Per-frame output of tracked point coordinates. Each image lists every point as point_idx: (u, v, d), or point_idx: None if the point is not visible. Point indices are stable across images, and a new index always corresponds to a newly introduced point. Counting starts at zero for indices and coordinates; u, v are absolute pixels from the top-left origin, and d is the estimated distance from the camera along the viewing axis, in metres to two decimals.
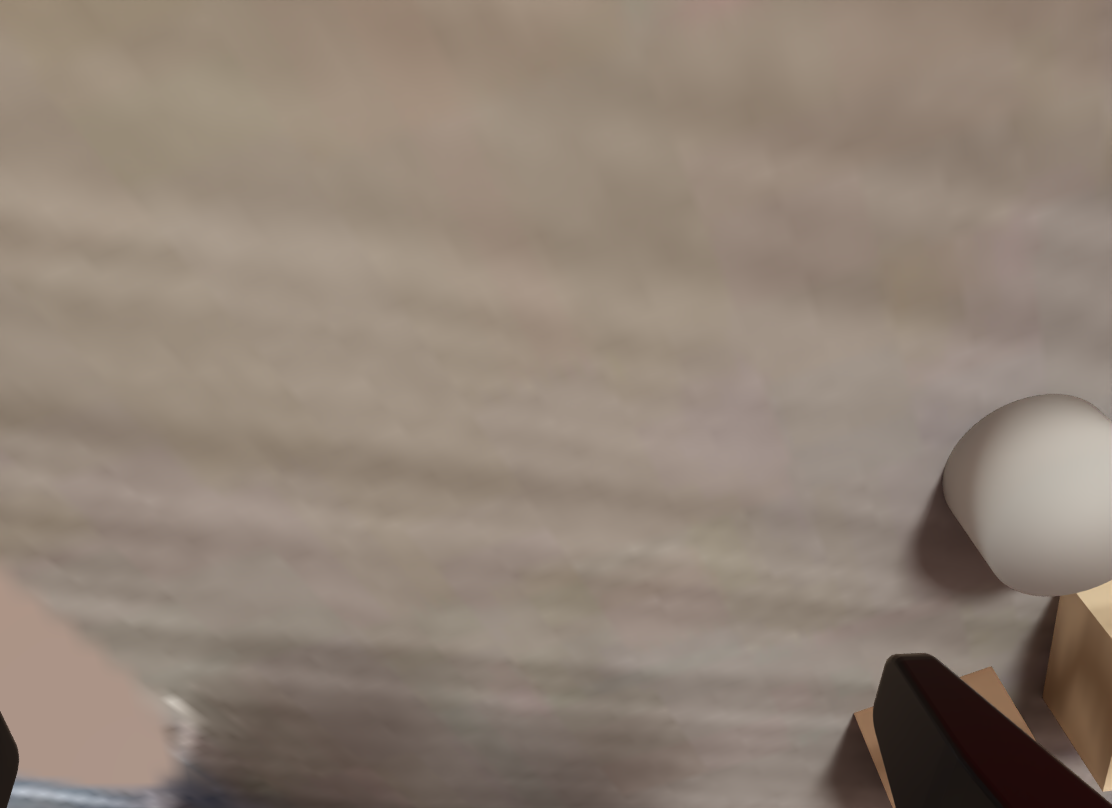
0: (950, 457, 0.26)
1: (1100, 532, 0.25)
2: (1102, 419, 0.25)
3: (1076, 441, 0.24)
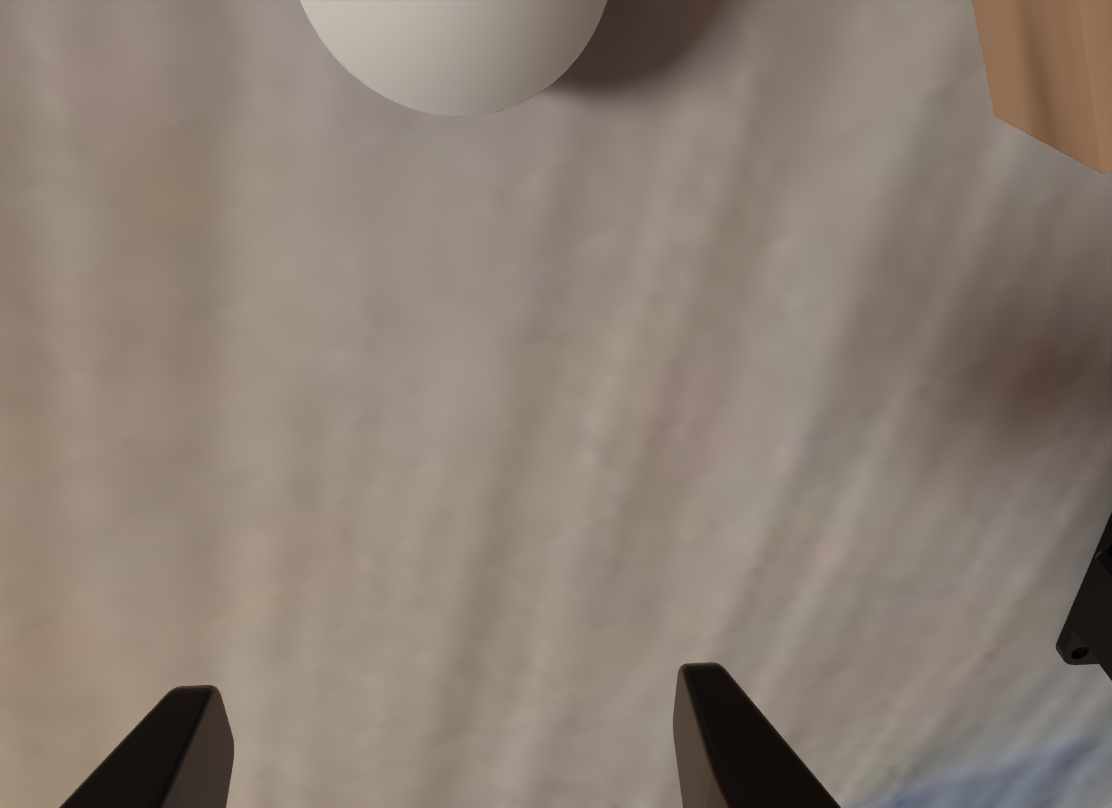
0: None
1: None
2: None
3: None
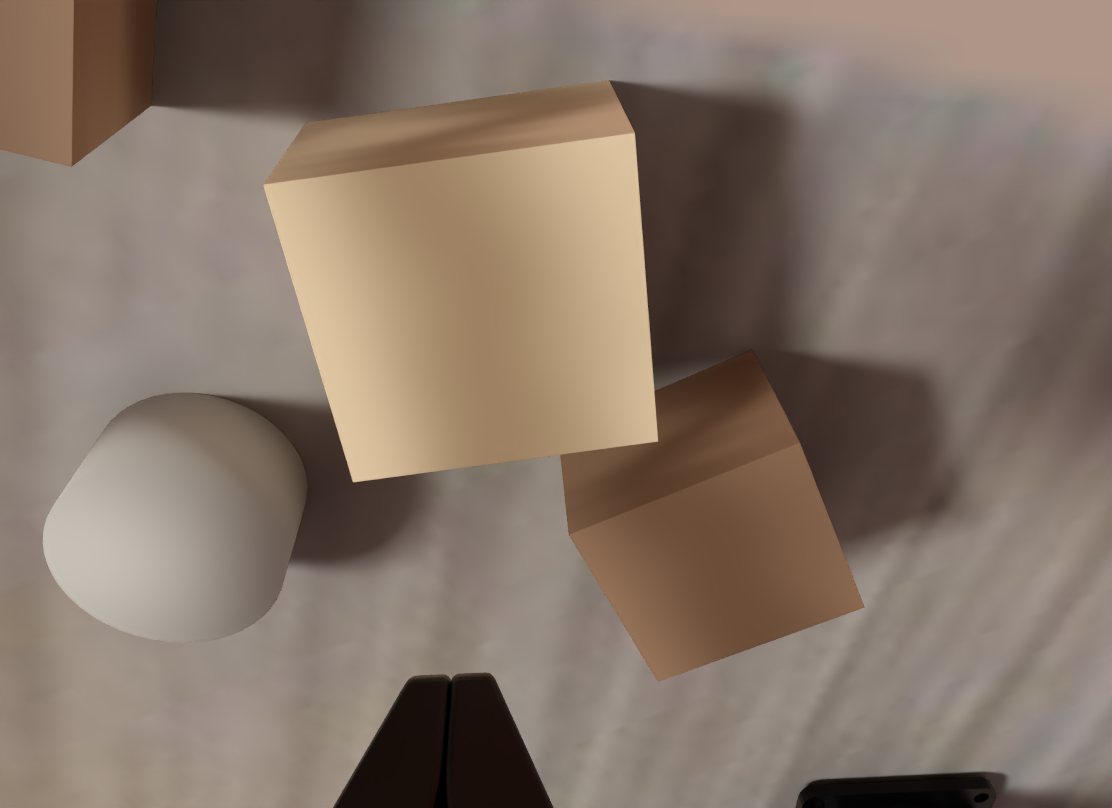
0: None
1: (167, 538, 0.19)
2: None
3: None
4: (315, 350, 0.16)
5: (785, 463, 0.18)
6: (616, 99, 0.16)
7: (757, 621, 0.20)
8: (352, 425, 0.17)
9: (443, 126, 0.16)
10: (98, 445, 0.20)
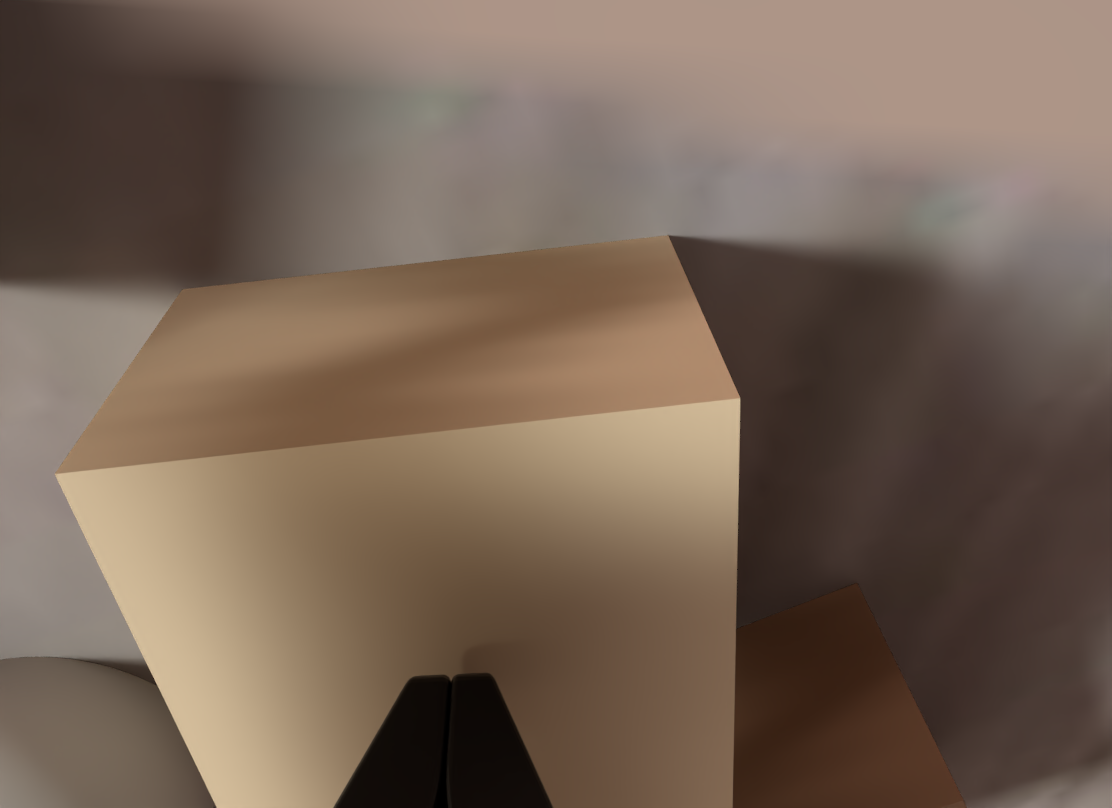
0: None
1: None
2: None
3: None
4: (173, 700, 0.10)
5: None
6: (689, 289, 0.10)
7: None
8: (239, 800, 0.10)
9: (398, 329, 0.10)
10: None
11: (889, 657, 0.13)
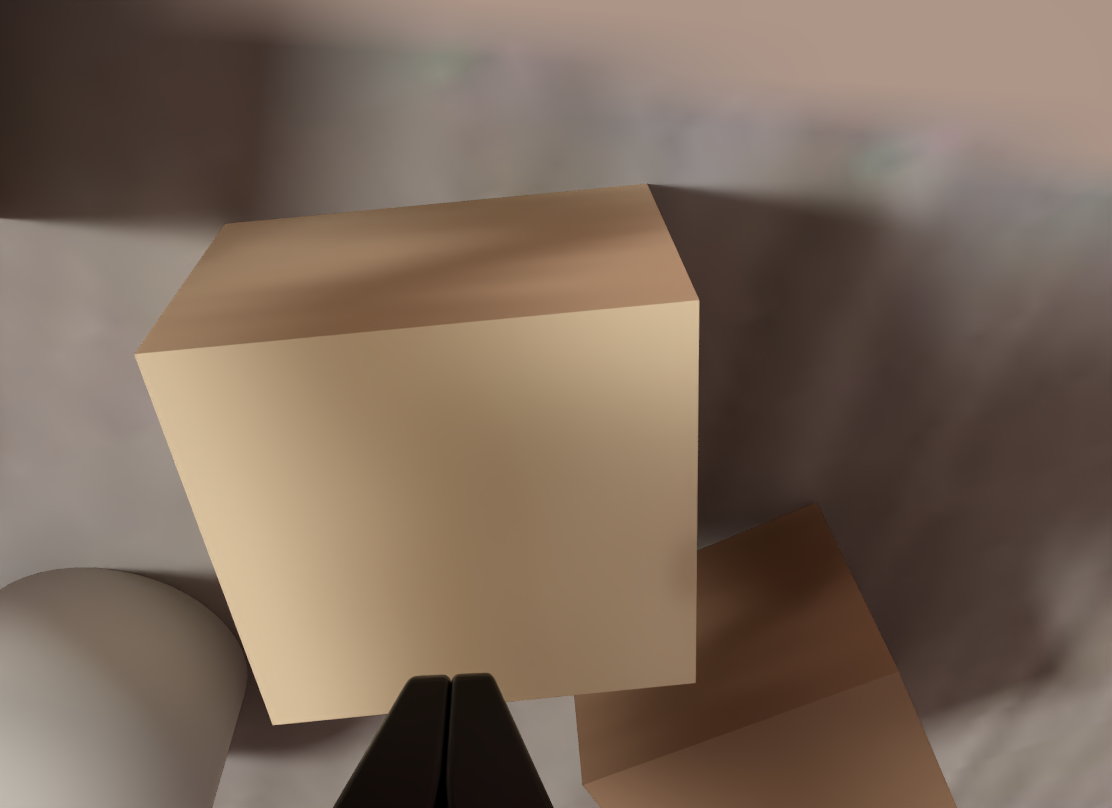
0: None
1: (48, 779, 0.14)
2: None
3: None
4: (218, 566, 0.11)
5: (878, 695, 0.13)
6: (662, 224, 0.11)
7: None
8: (271, 660, 0.12)
9: (414, 253, 0.11)
10: None
11: (841, 562, 0.15)
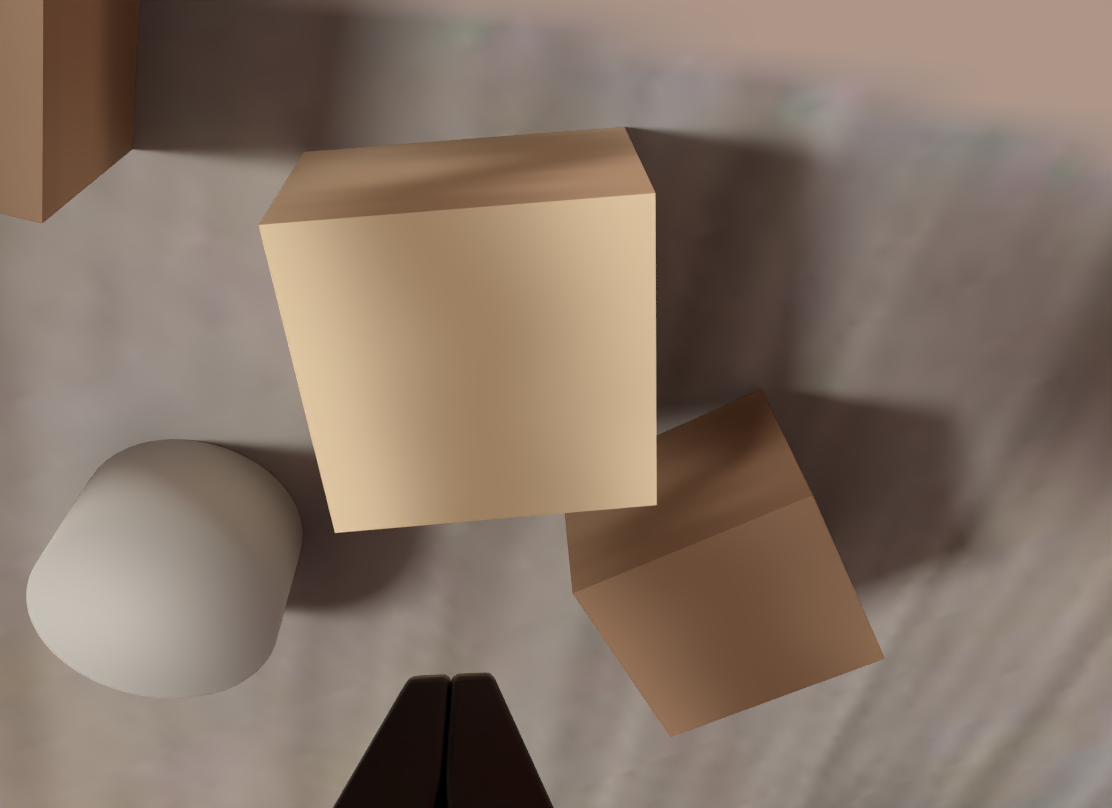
0: None
1: (156, 594, 0.18)
2: None
3: None
4: (304, 396, 0.15)
5: (797, 516, 0.17)
6: (633, 150, 0.16)
7: (772, 675, 0.19)
8: (337, 475, 0.16)
9: (450, 168, 0.15)
10: (84, 497, 0.19)
11: (777, 428, 0.19)
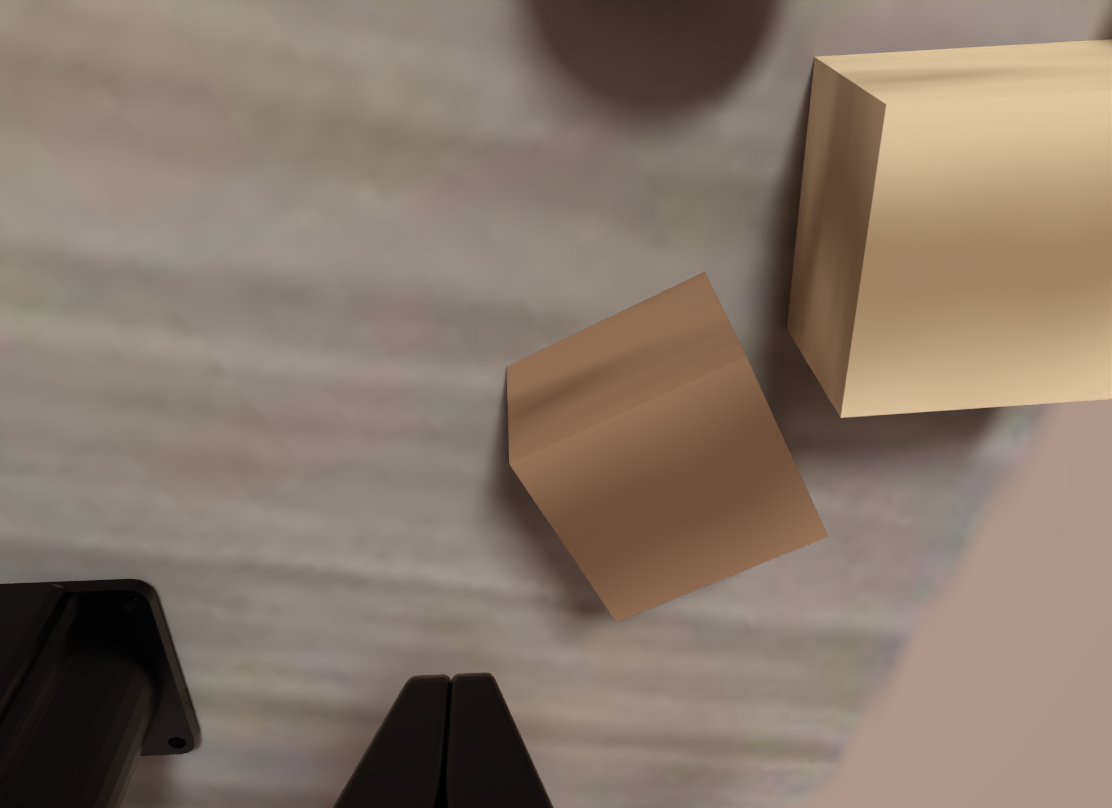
0: None
1: None
2: None
3: None
4: (1058, 91, 0.15)
5: (806, 530, 0.19)
6: None
7: (602, 541, 0.19)
8: (963, 119, 0.15)
9: None
10: None
11: None
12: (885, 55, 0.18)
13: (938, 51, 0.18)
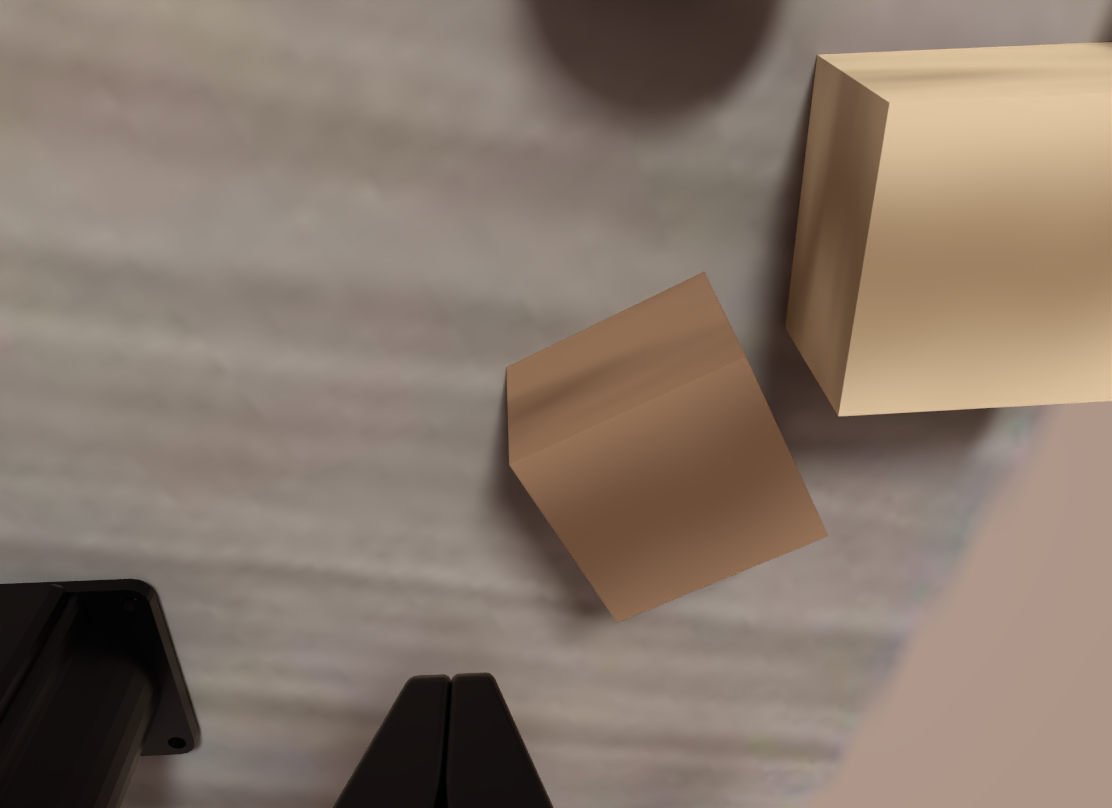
0: None
1: None
2: None
3: None
4: (1061, 93, 0.15)
5: (806, 529, 0.19)
6: None
7: (602, 541, 0.19)
8: (965, 118, 0.15)
9: None
10: None
11: None
12: (887, 54, 0.18)
13: (940, 51, 0.18)
